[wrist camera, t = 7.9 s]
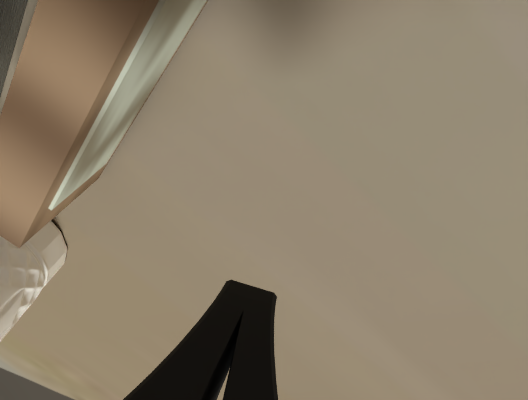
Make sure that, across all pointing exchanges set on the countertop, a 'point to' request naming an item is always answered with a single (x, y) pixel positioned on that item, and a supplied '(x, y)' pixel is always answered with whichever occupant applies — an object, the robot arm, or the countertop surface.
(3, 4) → the slanted bar
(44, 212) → the picture frame
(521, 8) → the countertop surface
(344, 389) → the countertop surface
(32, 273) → the white cup
